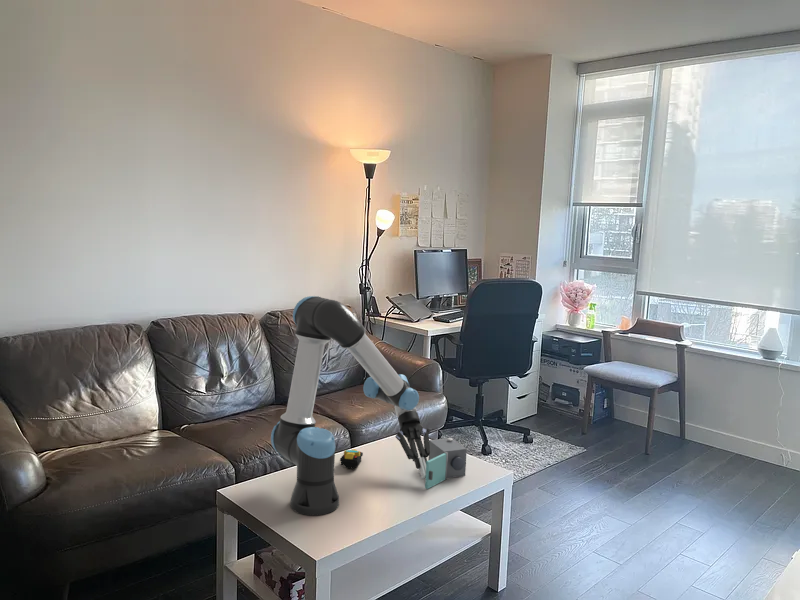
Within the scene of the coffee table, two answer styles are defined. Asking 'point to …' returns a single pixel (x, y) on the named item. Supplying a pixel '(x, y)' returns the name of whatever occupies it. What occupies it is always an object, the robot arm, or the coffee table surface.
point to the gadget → (351, 458)
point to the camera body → (450, 455)
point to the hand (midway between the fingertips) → (425, 476)
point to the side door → (436, 470)
